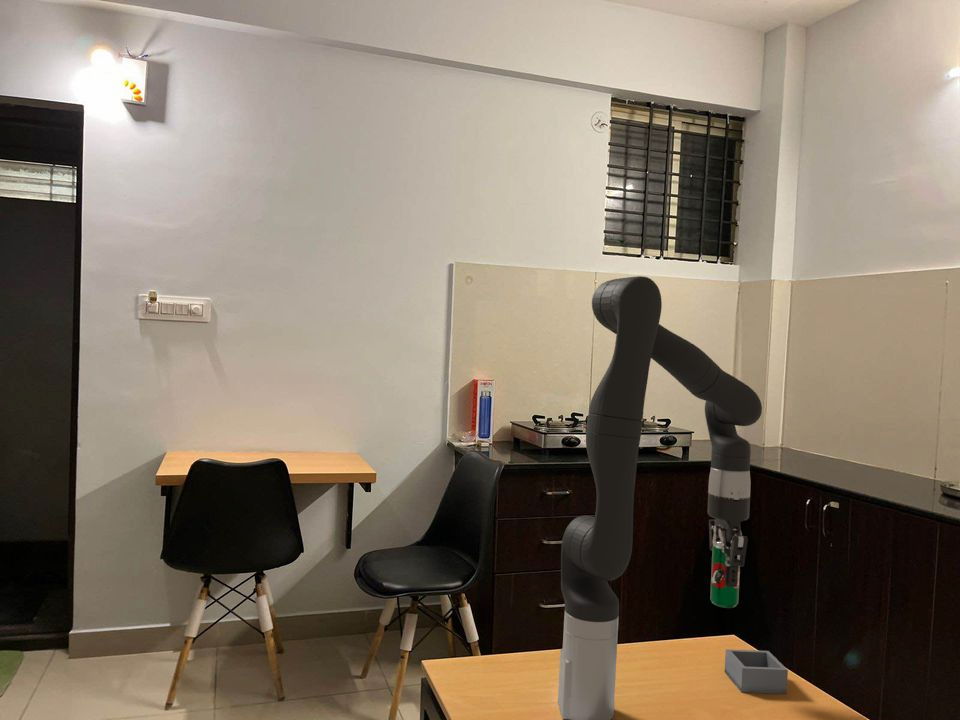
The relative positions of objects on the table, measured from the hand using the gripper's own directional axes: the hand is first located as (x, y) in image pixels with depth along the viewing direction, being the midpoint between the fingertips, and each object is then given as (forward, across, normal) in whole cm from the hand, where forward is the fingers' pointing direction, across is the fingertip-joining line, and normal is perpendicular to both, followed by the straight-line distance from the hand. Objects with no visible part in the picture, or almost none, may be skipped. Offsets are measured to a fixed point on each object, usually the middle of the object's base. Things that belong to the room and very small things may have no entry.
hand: (725, 580), depth 138 cm
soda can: (+5, 0, 0) cm, 5 cm away
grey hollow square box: (+20, -1, +7) cm, 21 cm away
